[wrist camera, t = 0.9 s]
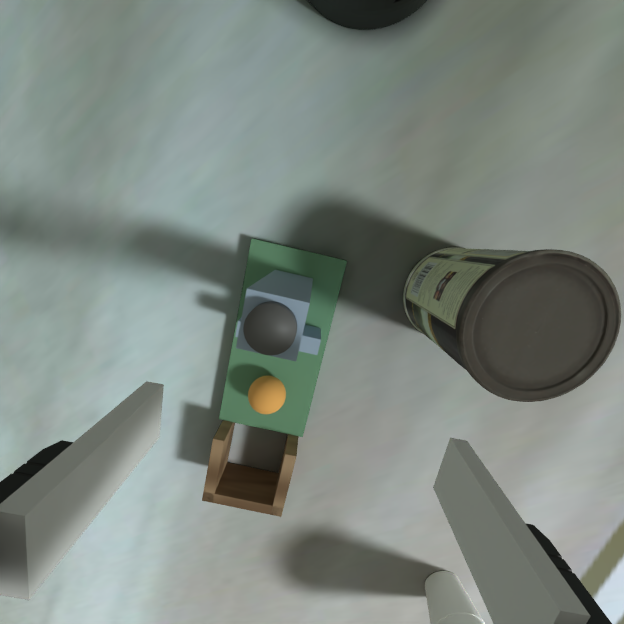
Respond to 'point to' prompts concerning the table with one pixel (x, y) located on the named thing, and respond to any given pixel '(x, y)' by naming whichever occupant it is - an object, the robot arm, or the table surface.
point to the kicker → (278, 317)
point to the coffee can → (516, 317)
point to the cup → (449, 600)
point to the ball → (266, 394)
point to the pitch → (292, 374)
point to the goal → (247, 477)
